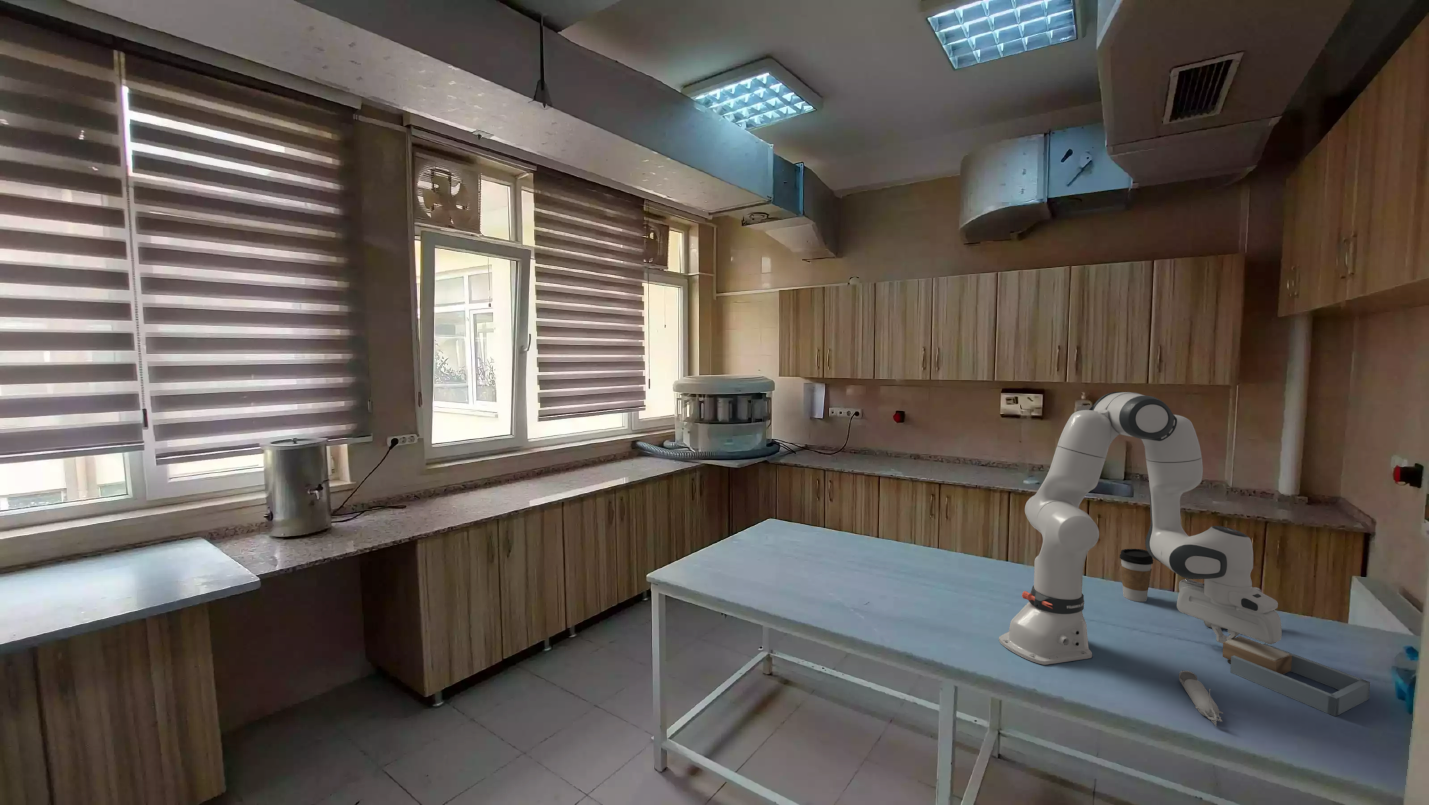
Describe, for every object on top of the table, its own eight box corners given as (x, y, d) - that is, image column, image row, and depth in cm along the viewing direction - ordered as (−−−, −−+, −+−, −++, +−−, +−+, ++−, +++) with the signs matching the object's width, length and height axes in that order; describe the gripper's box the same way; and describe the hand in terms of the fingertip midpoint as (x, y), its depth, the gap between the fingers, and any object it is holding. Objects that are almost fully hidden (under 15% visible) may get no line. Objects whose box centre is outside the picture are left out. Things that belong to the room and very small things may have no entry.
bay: (1335, 716, 117) (1336, 698, 116) (1230, 672, 134) (1231, 656, 133) (1369, 699, 122) (1370, 682, 122) (1264, 658, 139) (1264, 643, 138)
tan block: (1274, 682, 129) (1276, 661, 128) (1222, 661, 138) (1223, 641, 138) (1290, 675, 131) (1292, 654, 131) (1238, 655, 141) (1239, 635, 140)
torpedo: (1172, 680, 132) (1173, 653, 131) (1197, 684, 130) (1198, 657, 129) (1201, 726, 115) (1203, 697, 115) (1230, 732, 113) (1232, 702, 113)
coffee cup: (1157, 604, 169) (1159, 557, 168) (1126, 602, 171) (1128, 555, 170) (1142, 592, 177) (1144, 547, 176) (1113, 591, 179) (1114, 546, 178)
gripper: (1172, 578, 148) (1170, 628, 149) (1272, 610, 129) (1269, 666, 130) (1186, 574, 150) (1184, 623, 151) (1287, 604, 131) (1283, 660, 132)
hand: (1224, 643), depth 140 cm, fingers closed
